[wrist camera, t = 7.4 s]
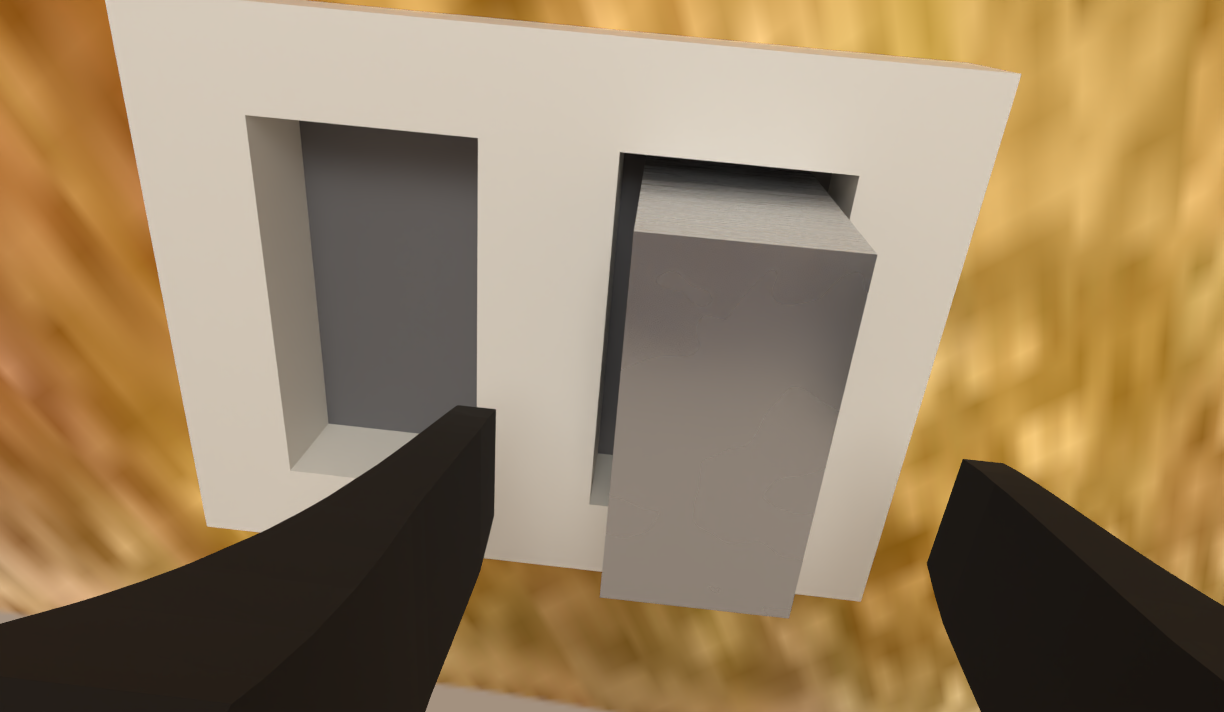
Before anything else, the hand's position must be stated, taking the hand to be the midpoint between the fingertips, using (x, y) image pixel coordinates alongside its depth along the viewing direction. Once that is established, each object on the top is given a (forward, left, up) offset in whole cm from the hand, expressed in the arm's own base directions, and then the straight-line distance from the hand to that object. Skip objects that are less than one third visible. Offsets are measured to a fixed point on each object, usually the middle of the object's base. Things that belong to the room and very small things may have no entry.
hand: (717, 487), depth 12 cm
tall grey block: (0, 0, -7) cm, 7 cm away
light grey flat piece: (-3, 0, -7) cm, 8 cm away
